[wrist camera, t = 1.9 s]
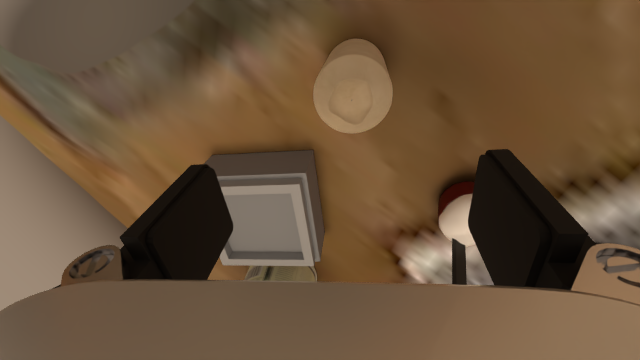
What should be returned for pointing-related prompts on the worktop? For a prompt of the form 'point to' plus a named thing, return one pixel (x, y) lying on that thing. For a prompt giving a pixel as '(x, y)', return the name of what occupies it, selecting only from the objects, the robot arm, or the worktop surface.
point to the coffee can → (281, 273)
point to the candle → (353, 87)
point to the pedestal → (271, 208)
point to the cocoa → (457, 225)
